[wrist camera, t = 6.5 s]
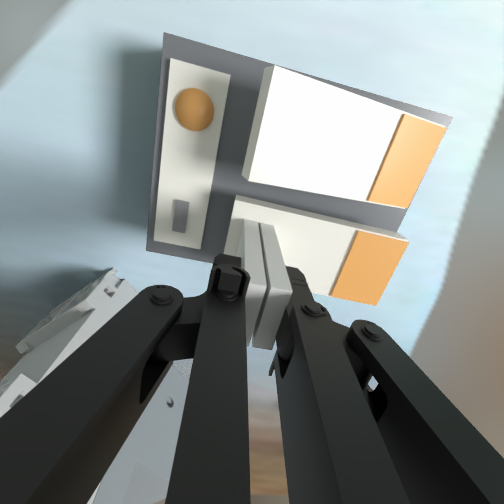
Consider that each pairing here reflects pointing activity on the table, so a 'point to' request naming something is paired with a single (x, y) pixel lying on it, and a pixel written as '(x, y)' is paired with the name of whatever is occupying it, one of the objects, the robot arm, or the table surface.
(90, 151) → the table surface
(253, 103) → the switch unit
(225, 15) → the table surface
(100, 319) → the circuit breaker
